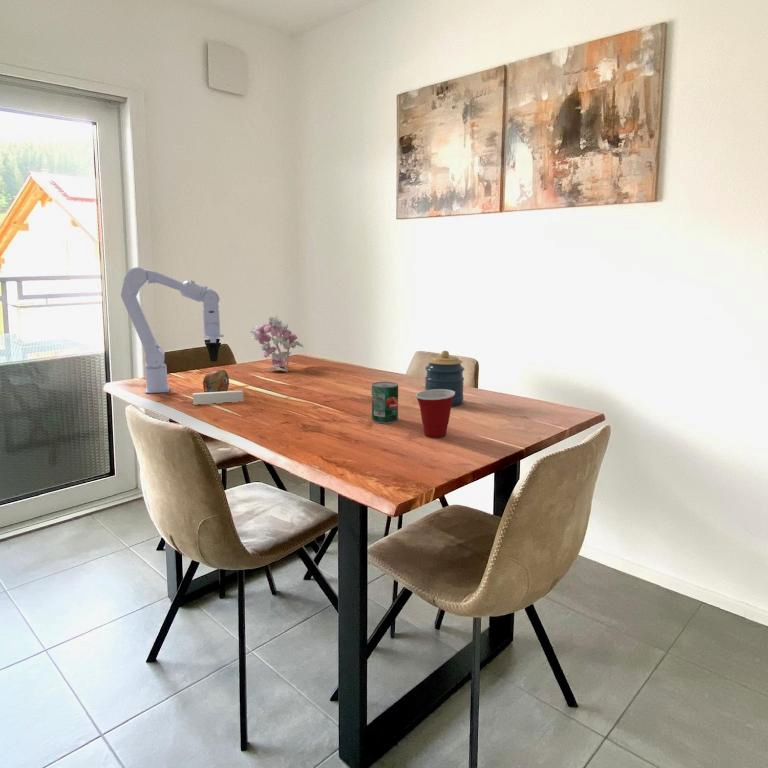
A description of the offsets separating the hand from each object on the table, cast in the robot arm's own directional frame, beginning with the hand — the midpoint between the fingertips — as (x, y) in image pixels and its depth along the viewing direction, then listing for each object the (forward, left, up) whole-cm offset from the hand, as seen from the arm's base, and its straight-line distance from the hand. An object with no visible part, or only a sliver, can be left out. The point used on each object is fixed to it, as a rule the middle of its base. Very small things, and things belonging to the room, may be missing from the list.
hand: (213, 359), depth 225 cm
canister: (+47, +72, -11) cm, 87 cm away
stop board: (+26, 0, -10) cm, 28 cm away
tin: (+13, 0, -11) cm, 17 cm away
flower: (-33, +28, -11) cm, 44 cm away
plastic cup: (+82, +54, -11) cm, 99 cm away
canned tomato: (+63, +46, -11) cm, 79 cm away
